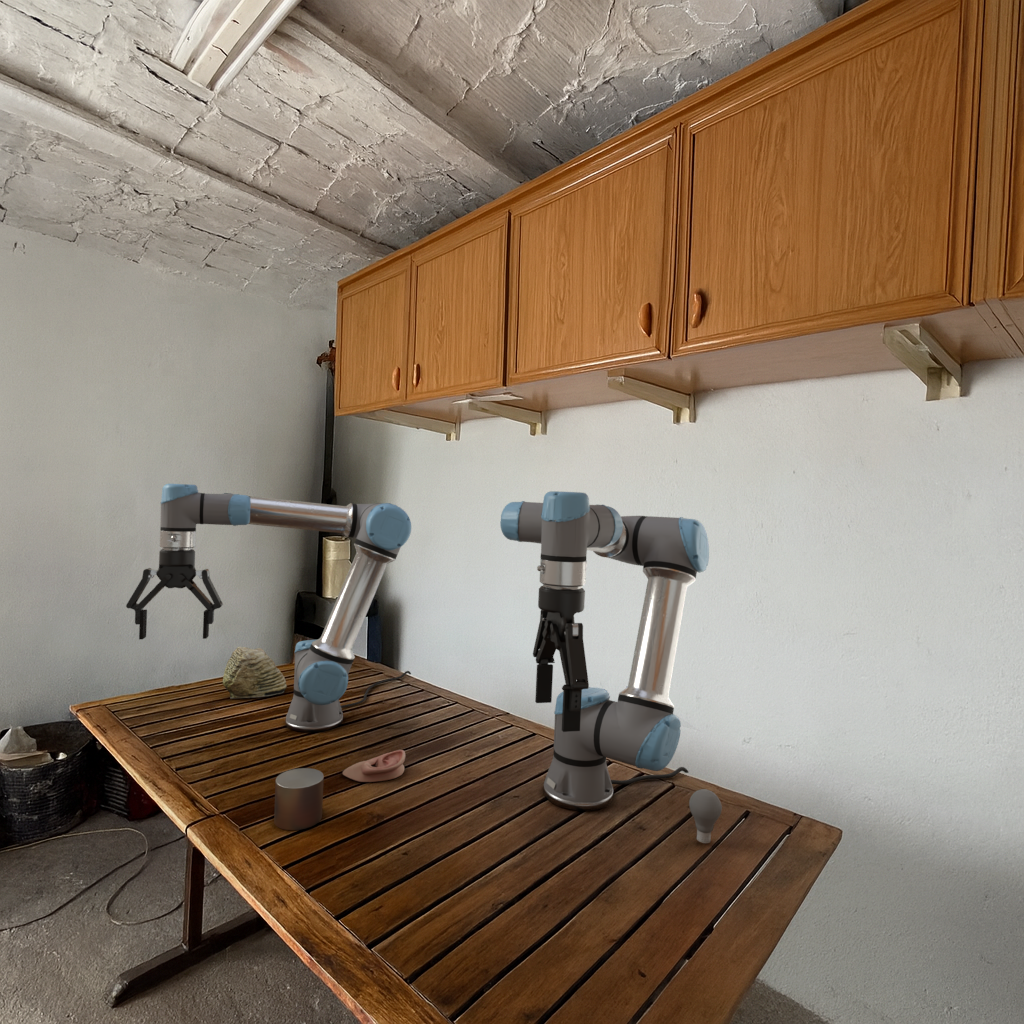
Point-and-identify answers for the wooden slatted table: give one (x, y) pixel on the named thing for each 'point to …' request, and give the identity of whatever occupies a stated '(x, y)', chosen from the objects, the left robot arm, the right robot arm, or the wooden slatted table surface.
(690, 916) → the wooden slatted table surface
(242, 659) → the fossil
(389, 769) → the anatomical model
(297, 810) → the can
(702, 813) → the light bulb
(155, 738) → the wooden slatted table surface
